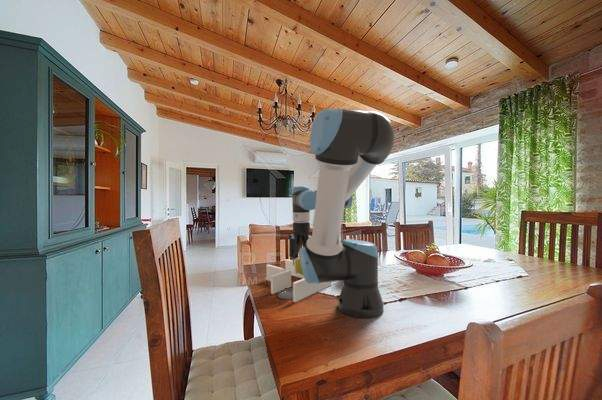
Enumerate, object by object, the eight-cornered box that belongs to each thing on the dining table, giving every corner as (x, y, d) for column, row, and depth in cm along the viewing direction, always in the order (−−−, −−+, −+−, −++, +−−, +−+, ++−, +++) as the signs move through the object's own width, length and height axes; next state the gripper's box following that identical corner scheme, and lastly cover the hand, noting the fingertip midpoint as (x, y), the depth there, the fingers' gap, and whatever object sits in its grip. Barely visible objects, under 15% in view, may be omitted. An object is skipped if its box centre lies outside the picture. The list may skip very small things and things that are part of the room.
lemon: (309, 273, 114) (309, 255, 114) (306, 277, 109) (305, 258, 109) (298, 272, 116) (297, 255, 116) (294, 276, 111) (293, 258, 110)
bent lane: (331, 285, 110) (331, 269, 110) (295, 302, 93) (295, 283, 93) (287, 273, 128) (286, 259, 128) (250, 285, 111) (250, 269, 111)
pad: (302, 294, 100) (302, 293, 100) (288, 301, 94) (288, 300, 94) (288, 289, 106) (288, 288, 106) (273, 295, 100) (273, 294, 100)
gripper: (280, 221, 115) (281, 272, 116) (312, 224, 103) (313, 281, 103) (291, 219, 121) (292, 268, 121) (323, 222, 108) (324, 276, 109)
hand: (302, 274), depth 112 cm, fingers closed on lemon, 5 cm apart
